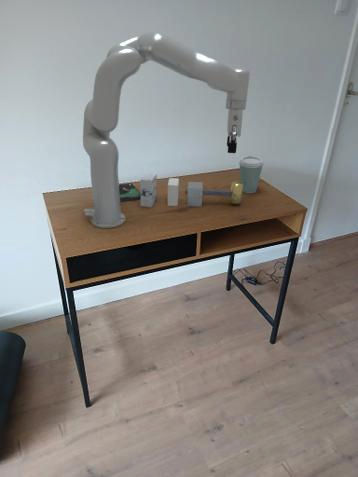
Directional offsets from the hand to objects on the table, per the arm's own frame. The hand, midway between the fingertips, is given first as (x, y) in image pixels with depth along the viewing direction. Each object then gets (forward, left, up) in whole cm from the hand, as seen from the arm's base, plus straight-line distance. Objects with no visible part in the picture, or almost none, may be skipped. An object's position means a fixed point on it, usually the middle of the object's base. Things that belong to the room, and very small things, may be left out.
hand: (231, 149), depth 146 cm
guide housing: (-14, -4, -22) cm, 26 cm away
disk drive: (-44, +2, -23) cm, 50 cm away
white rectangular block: (-23, -4, -22) cm, 32 cm away
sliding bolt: (-6, -4, -21) cm, 22 cm away
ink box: (-33, -6, -22) cm, 40 cm away
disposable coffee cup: (+10, +12, -22) cm, 27 cm away
